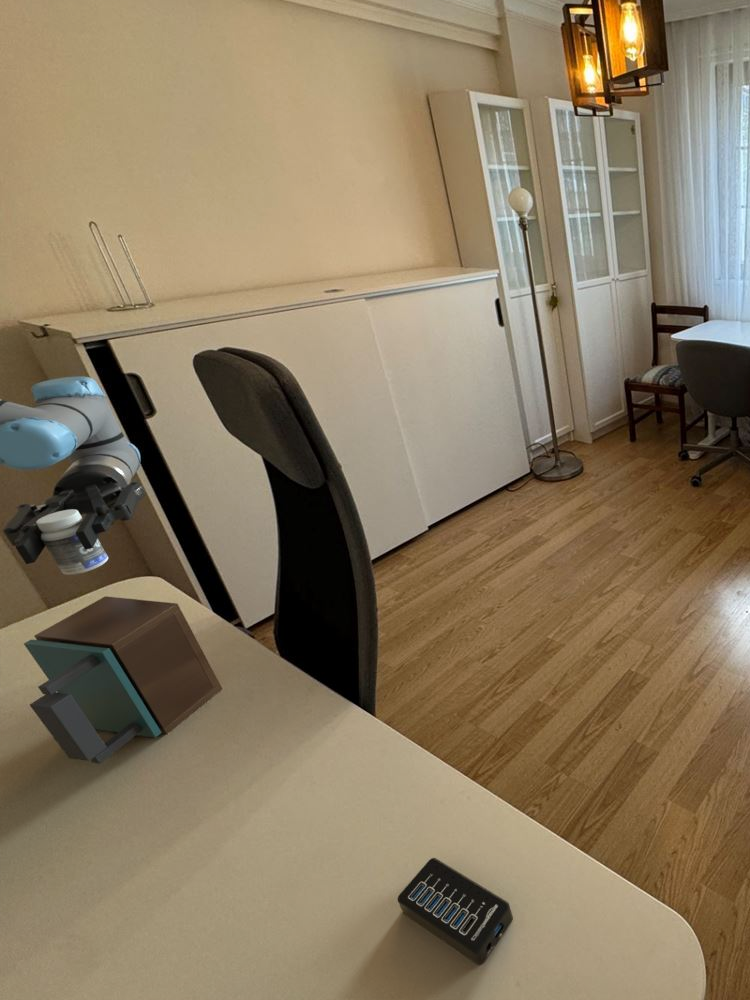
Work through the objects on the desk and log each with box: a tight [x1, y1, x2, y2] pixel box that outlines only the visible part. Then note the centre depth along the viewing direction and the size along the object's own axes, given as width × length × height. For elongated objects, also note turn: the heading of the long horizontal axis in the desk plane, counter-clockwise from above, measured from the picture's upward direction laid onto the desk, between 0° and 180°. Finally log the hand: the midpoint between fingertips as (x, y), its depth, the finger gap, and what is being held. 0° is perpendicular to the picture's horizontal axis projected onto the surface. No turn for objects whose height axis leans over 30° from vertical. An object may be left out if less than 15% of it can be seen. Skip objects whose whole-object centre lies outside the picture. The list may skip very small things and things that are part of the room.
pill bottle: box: [36, 509, 109, 576], centre depth 79 cm, size 5×5×8 cm
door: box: [23, 639, 162, 764], centre depth 70 cm, size 12×7×15 cm, turn 82°
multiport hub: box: [397, 857, 514, 966], centre depth 55 cm, size 4×11×2 cm, turn 66°
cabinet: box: [33, 595, 223, 735], centre depth 77 cm, size 12×8×16 cm, turn 82°
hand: (55, 547), depth 74 cm, fingers closed on pill bottle, 5 cm apart
